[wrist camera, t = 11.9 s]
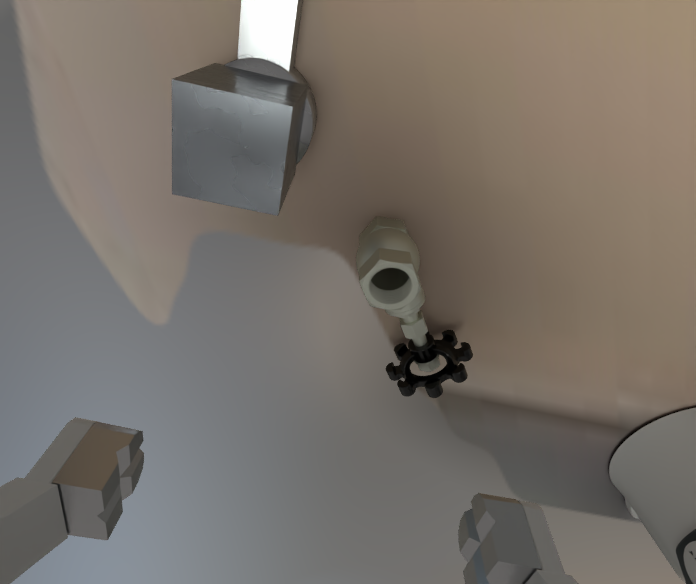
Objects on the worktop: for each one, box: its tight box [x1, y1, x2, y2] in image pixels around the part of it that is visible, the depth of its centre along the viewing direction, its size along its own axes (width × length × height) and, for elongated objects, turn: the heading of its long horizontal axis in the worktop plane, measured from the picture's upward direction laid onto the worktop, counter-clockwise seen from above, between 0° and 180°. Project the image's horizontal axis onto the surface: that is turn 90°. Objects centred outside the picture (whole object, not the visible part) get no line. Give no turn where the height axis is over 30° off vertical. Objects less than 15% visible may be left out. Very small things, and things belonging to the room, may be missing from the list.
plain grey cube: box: [172, 63, 308, 216], centre depth 22 cm, size 5×5×6 cm
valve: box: [356, 217, 473, 398], centre depth 31 cm, size 7×7×12 cm
